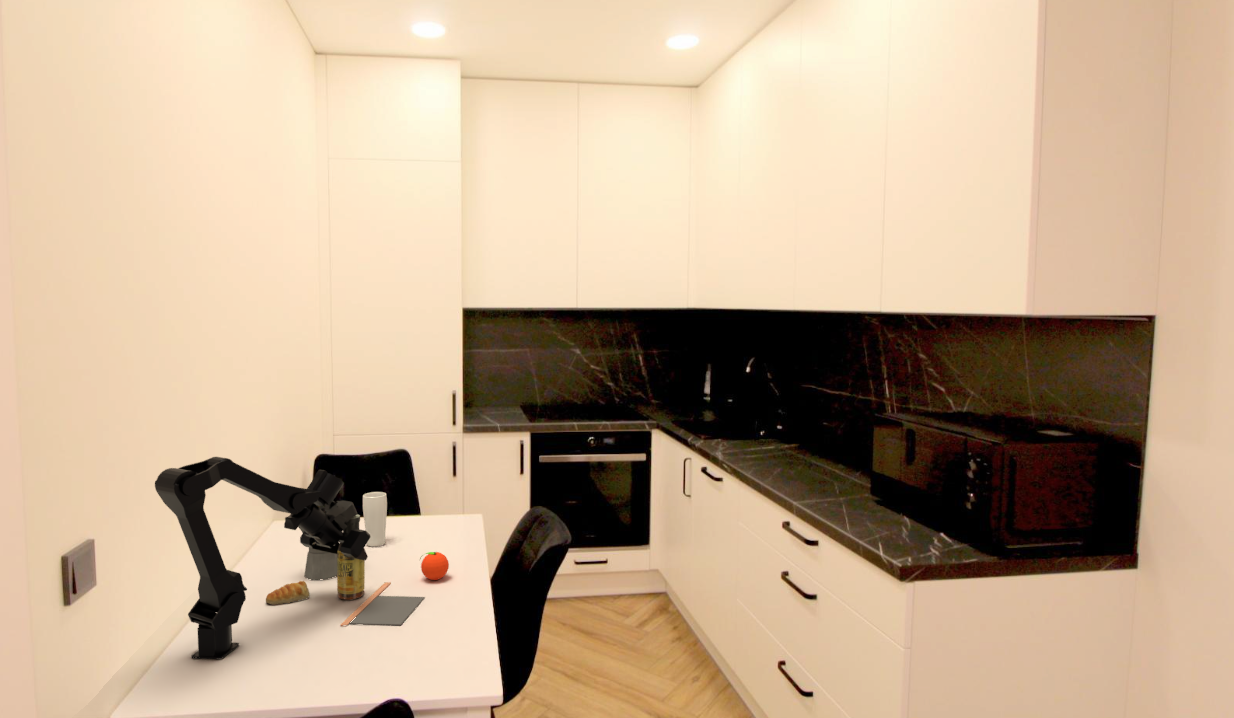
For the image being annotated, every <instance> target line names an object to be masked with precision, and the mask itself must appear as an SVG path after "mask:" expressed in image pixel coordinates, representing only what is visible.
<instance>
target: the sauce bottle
mask: <svg viewBox="0 0 1234 718" xmlns="http://www.w3.org/2000/svg"><path fill="white" fill-rule="evenodd" d="M360 521H361V515H360V514H358V513H357V515H356V516H354V517H352V518H351V519H350V520H349V521H348V522H347V523H345V524H346V525H347V527H346V529H345V530H343V531H342V532H344V533H350V531H351V530H353V529H360ZM339 543H340V542H339ZM342 544H343V543H340V544H339V547H338V550H337V579H336V580H337V581H336V583H337V585H336V587H337V588H336V590H337V597H338V598H339V599H340V600H343V599H344V600H346V601H353V600H356V599H359V598H361V597H363V596H364V595H365V583H366V582H365V580H366V579H365V575H366V572H365V569H366V568H365V561H366V560H360V559H355V558H350V557H346V556H344V554H343V553H341V545H342Z"/></svg>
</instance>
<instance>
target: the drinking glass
mask: <svg viewBox="0 0 1234 718" xmlns="http://www.w3.org/2000/svg"><path fill="white" fill-rule="evenodd" d="M387 510H388V498H387V493H386V492H383V491H371V492H367V493H364V494H363V495H362V512H363V521H364V529H365V531H367V532H368V533H369V534H370V539H369V540H368V542H367V544H366V546H368V547H371V548H374V547H375V548H376V547H382V546H384V545H385V544H386V533H387V532H386V528H387V514H388V513H387V512H388V511H387Z"/></svg>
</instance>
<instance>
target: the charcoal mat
mask: <svg viewBox="0 0 1234 718" xmlns="http://www.w3.org/2000/svg"><path fill="white" fill-rule="evenodd" d="M424 599H425V596H405V595H404V596H401V595H400V596H399V595H397V596H396V595H379V596H377V597H376V598H375V599H374V600H373V601H372V602H371V603H370V604H369V605H368V606H367V607H366V608H365V609H364V610H363V611H362V612H361V613H360V614H359V615H358V616H357V617H356V618H355V619H354V620H353V621H352V622H351V623H350V624H349V625H351V624H363V625H364V626H390V625H391V627H392V626H394V625H396V626H394V627H397V626H399V627H401V626H402V625H403V624H404V623H405V622H404V621H407V619H408V618H409V617H410V616H411V615H412V613H413V612H414V611H415V610H416V609H417V608H418V606H419V605H421V603H422V602H423V601H424ZM416 607H417V608H416ZM415 608H416V609H415ZM410 614H411V615H410ZM409 615H410V616H409Z"/></svg>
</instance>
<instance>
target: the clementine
mask: <svg viewBox="0 0 1234 718" xmlns="http://www.w3.org/2000/svg"><path fill="white" fill-rule="evenodd" d="M425 555H426V556H424V554H422V555H421V556H420V558H419V560H421V559H422V557H423V556H424V558H423V559H422V561H421V564H420V568H421V573H422V575H423V576H424V577H425V578H427V579H428V580H432V581H437V580H441V579H442V578H443V577H445V575H446V574H447V572H448V571H449V567H450V564H449V560H448V558H447V556H445V554H443V553H442V552H440V551H439V552H438V551H428V552H426V553H425Z"/></svg>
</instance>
